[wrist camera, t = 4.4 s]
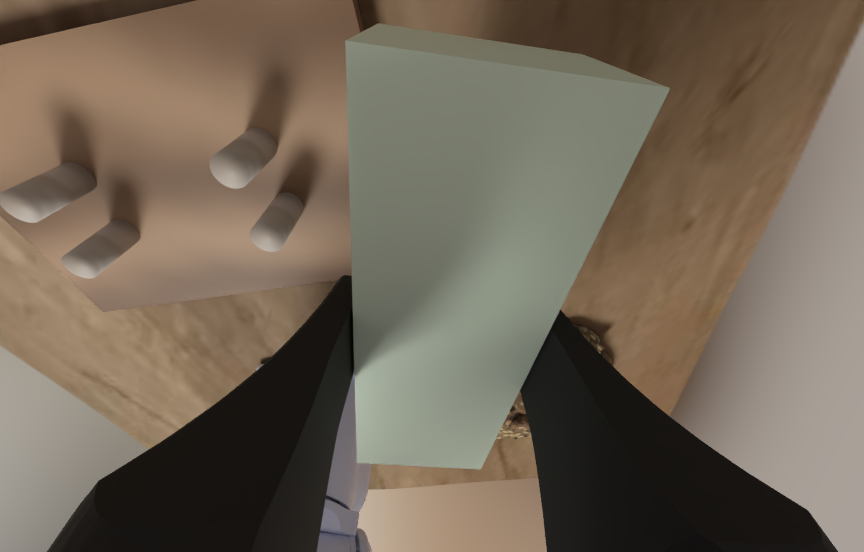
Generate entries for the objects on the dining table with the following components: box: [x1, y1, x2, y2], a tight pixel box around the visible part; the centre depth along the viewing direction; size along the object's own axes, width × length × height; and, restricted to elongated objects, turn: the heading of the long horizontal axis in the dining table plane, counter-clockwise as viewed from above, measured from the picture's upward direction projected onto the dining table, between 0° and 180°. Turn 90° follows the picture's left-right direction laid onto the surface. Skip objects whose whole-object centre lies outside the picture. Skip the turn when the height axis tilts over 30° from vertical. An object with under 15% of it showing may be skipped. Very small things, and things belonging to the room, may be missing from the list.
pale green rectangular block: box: [345, 23, 670, 469], centre depth 11 cm, size 14×5×4 cm, turn 173°
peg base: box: [0, 0, 364, 312], centre depth 16 cm, size 13×20×4 cm, turn 99°
